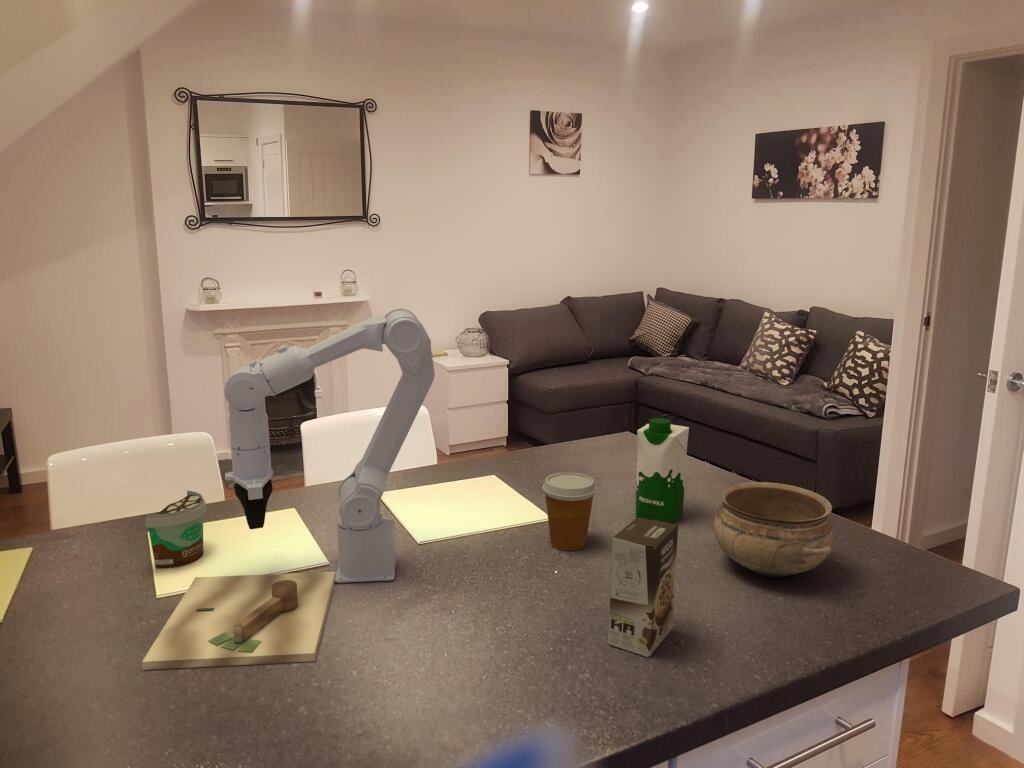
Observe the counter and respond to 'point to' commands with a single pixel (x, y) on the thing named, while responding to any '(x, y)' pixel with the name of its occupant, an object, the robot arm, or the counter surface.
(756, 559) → the cooking pot
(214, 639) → the dial board
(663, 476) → the milk carton
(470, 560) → the counter surface
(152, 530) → the food container
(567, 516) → the disposable coffee cup
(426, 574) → the counter surface
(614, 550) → the coffee box
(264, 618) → the tuning peg
